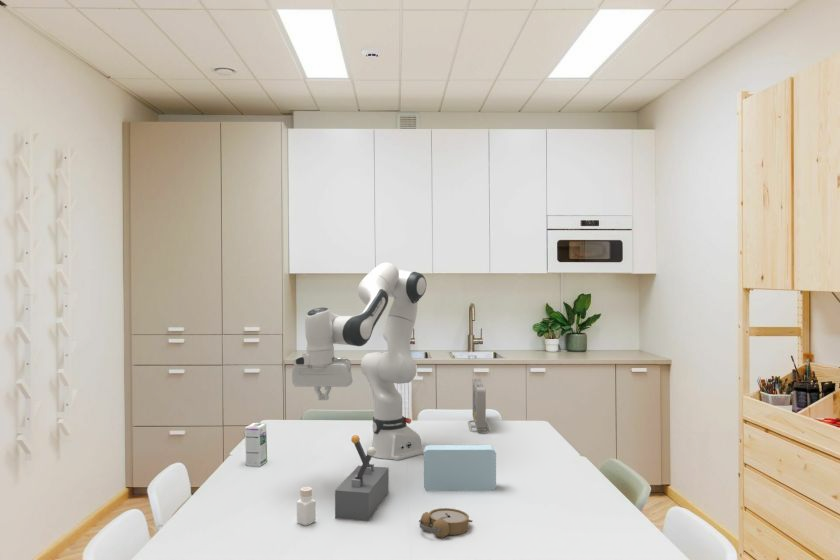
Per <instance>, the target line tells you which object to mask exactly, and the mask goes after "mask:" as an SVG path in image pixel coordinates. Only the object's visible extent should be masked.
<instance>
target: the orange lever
mask: <svg viewBox="0 0 840 560" xmlns="http://www.w3.org/2000/svg"><path fill="white" fill-rule="evenodd" d="M351 443H352V444H353V445H354V447H355V450H356V451H357V454H358V455H359V458H360V460H361V462H362V464H363V462H364V460H365V458H366V456H367V454H366V453H365V450H364V448H363V446H362V444H361V441H360V437H359V435H356V434H354V435H352V437H351ZM370 464H371V463H369V464H368V466H367V467H370Z"/></svg>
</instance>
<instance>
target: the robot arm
mask: <svg viewBox="0 0 840 560" xmlns="http://www.w3.org/2000/svg"><path fill="white" fill-rule="evenodd" d="M426 289H427V280H426V278H425V275H424V274H422V273H420V272H416V271H410V270H407V269H406V270H405V269H398V267H397V266H395V264H393V263H391V262H387V261H386V262H382V263H380V264H378V265H377V266H375V267H374V268H372V269H371V270H370V271H369V272H368V273H367V274H366V275H365V276H364V277H363V278H362V280H361V281H360V282H359V284H358V287H357V293H358V297H359V298H360V300H361V301H362V303H364V305H365V308H364V309H363V311H362V312H361V313H359V314H356V315H339V314H336V313H333V312H332V311H331V310H330V309H329V308H328V307H318V308H312V309H311V310H309V311H308V312H307V313H306V315H305V324H304V330H305V338H306V343H307V345H306V353H303V354H302V355H300V356H298V357H295V358H294V359H293V360H292V362H293V363H292V364H293V367H292V370H291V371H292V374H291V376H292V377H291V379H292V384H293V386H294V387H295V388H296V387H298V388H299V387H302V388H304V387H306V388H311V387H312V388H314V389H313V390H314V391H315V394H316V395H317V399H318V401H328V400H329V398H330V397H329V396H330V395H329V394H330V392H331V390H332V388H333V387H337V388H340V387H341V388H344V387H345V388H346V387H349V386H351V385H352V383H353V374H352V364H351V362H352V361H350V360H349V358H347V357H335V346H334V345H343V346H344V345H346V346H347V345H348V346H354V347H355V346H356V347H362V346H364V345H366V344H367V343H368V341H369V340H370V338H371V336H372V334H373V331H374V329H375V326H376V324H377V323H378V321H379V320H380V318H381V316H382V315H383V313H384V311H385V310H386V308H387V306H388V303H389V298H393V302H392V303H391V306H390V308H389V312H388V314H387V319H386V322H385V325H384V329H383V332H382V336H383V337H382V338H383V339H384V340H385V342H386V343H387V344H386V345H387V351H386V352H383V351H373V352H368V353H365V355H364V356H363V357H362V359H361V362H360V370H361V373H362V374H363V375H364V376H365V378H366V380H367V381H368V383H369V386H370V389H371V393H372V399H373V417H372V432H373V434H372V441H371V442H372V443H371V447H374V448H375V450H376V453H375V455H373V456H372V457H374V458H377V459H385V460H389V459H390V460H395V461H400V460H404V459H408V458H412V457H415V456H419V455H424V448H425V445H423V444H422V439H421V436H420V435H419V433H417V432H416V431H415V430H414V429H412V428H411V427H410V426H408V424H411V423H412V419H411V418H410V417H405V416H403V396H402V395H401V393H400V392H399V391H398V390H397V388H396V384H397V385H398V384H399V385H400V384H408V383H411V382H412V381H413V380H414V379H415V377H416V374H417V364H416V362H415V360H414V359H413V357H412V353H411V338H412V335H413V331H414V327H415V323H416V319H417V314H418V313H417V312H418V303H419V301H420V300H421V298H422V297H423V296H424V295H425V293H426ZM322 387H324V391H325V393H323V392H322V391H321V389H322Z"/></svg>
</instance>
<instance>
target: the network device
mask: <svg viewBox="0 0 840 560" xmlns="http://www.w3.org/2000/svg"><path fill="white" fill-rule="evenodd" d="M486 393H487V392H486V386H485V385H484V383H483V381H482V379H481V378H472V418H473V420H471V419H470V420H468V421H467V425H468V428H469V429H468V430H469V432H472V433H489V432H490V428H489V427H490V426H489V425H488V422H487V417H486V415H487V414H486V412H487V411H486V410H487V409H486V408H487V406H486V403H487V400H486V399H487V398H486V397H487V396H486V395H487V394H486ZM471 423H474V424H471Z"/></svg>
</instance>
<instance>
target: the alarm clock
mask: <svg viewBox="0 0 840 560" xmlns="http://www.w3.org/2000/svg"><path fill="white" fill-rule="evenodd" d="M418 523H419V528H420V529H421V530H423V531H426V532H431V533H433V534H434V535H435V536H436V537H438V538H441V537H443V538H445V537H447V536H448V535H449V536H451V535H452V536H453V535H460V534H461V533H462V534H464V533H466V532H468V530H469V523H473V520H471V519H470V516H469V514H468V513H466V512H465V511H462V510H460V509H456V508H450V507H444V508H443V507H440V508H436V509H432V510H430V511H429V512H428V511H425V512H423V513H422V515H421V518H420V520H418ZM467 529H468V530H467ZM465 531H466V532H465ZM462 534H461V535H462Z"/></svg>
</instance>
